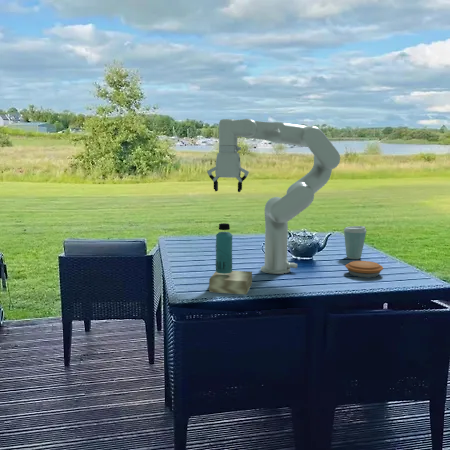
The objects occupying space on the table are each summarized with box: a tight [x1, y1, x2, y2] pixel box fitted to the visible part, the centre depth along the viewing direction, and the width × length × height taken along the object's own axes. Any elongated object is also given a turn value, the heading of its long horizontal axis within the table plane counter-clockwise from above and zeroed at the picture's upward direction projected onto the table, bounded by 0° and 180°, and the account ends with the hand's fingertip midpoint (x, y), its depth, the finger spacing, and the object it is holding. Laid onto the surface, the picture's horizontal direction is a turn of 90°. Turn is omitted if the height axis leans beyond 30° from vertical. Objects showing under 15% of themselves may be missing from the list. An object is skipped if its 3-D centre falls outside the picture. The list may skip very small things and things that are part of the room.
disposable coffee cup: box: [343, 225, 367, 260], centre depth 263 cm, size 11×11×15 cm
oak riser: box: [208, 270, 253, 295], centre depth 212 cm, size 14×14×5 cm
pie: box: [344, 260, 384, 278], centre depth 233 cm, size 15×16×5 cm
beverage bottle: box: [215, 222, 233, 274], centre depth 209 cm, size 6×7×20 cm
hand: (227, 191), depth 231 cm, fingers open, 9 cm apart
